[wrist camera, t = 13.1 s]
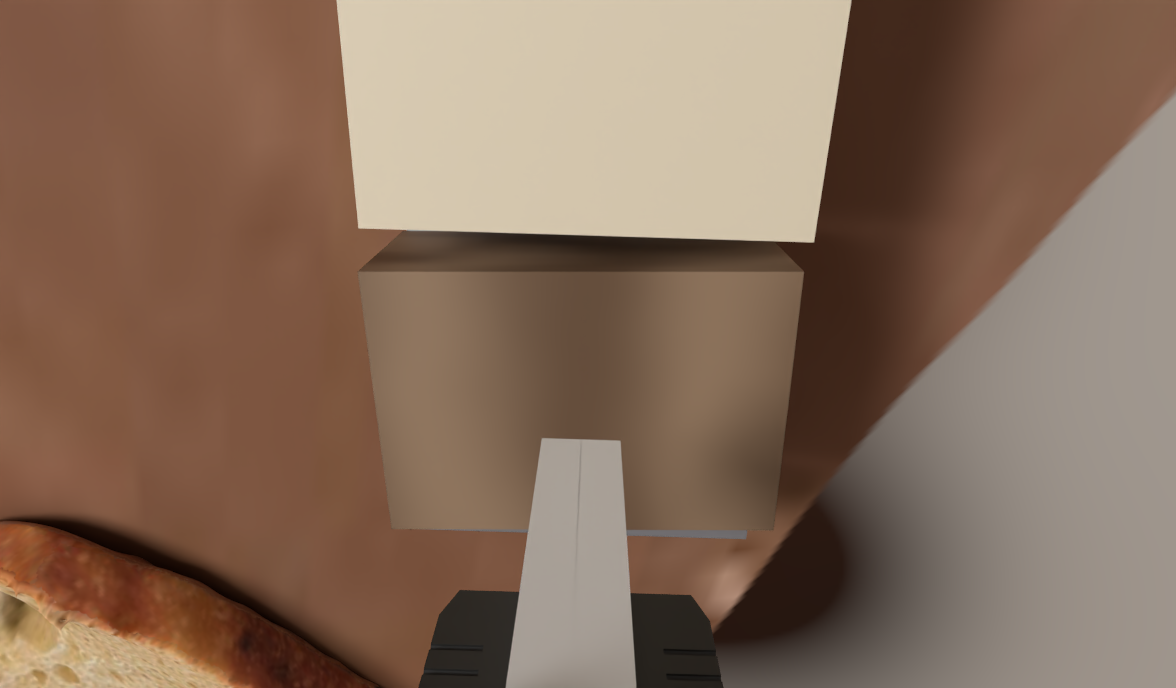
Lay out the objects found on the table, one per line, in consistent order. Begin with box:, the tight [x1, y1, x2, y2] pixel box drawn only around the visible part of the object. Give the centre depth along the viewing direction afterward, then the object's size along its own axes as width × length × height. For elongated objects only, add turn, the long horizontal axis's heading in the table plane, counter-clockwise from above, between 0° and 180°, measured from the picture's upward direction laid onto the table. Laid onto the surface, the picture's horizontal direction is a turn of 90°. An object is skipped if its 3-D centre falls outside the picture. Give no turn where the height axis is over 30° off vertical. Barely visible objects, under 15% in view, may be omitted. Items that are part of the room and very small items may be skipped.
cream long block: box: [337, 0, 851, 539], centre depth 17 cm, size 10×24×5 cm, turn 178°
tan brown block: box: [358, 231, 804, 530], centre depth 19 cm, size 10×7×4 cm
